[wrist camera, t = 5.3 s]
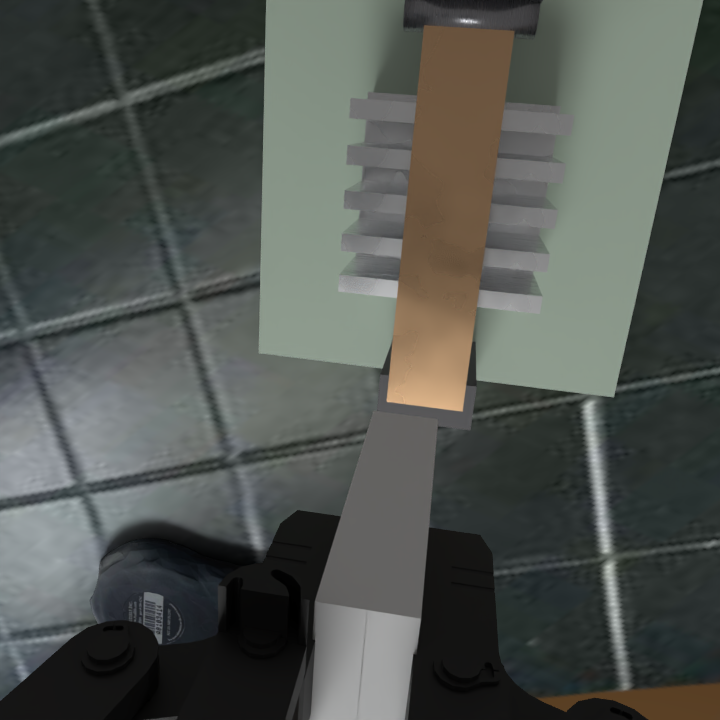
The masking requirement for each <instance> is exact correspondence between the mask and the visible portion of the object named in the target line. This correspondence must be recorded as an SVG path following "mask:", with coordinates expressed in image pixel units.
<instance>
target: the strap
mask: <svg viewBox="0 0 720 720" xmlns="http://www.w3.org/2000/svg"><path fill="white" fill-rule="evenodd" d="M540 3H541V0H405V5H404V18H403V29H404V31H405V32H421V33H423V41H422V51H421V61H420V71H419V81H418V91H417V101H416V111H415V121H414V131H413V141H412V151H411V161H410V171H409V181H408V191H407V201H406V211H405V221H404V231H403V242H402V252H401V262H400V272H399V282H398V292H397V302H396V312H395V322H394V332H393V342H392V352H391V362H390V372H389V382H388V392H387V402H393V403H400V404H408V405H416V406H423V407H431V408H439V409H446V410H454V411H462V412H463V404H464V397H465V390H466V382H467V375H468V368H469V360H470V353H471V346H472V339H473V331H474V324H475V317H476V309H477V302H478V295H479V287H480V280H481V273H482V266H483V258H484V251H485V244H486V236H487V229H488V222H489V214H490V207H491V200H492V192H493V185H494V178H495V171H496V163H497V156H498V149H499V141H500V134H501V127H502V119H503V112H504V105H505V98H506V90H507V83H508V76H509V68H510V61H511V54H512V46H513V39H514V38H516V39H532V40H534V39H535V35H536V31H537V25H538V19H539V12H540Z"/></svg>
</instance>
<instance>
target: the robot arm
mask: <svg viewBox="0 0 720 720" xmlns="http://www.w3.org/2000/svg"><path fill="white" fill-rule="evenodd" d="M437 426H438V419H433V418H425V417H417V416H410V415H402V414H394V413H386V412H378V411H373V414H372V418H371V421H370V424H369V427H368V430H367V434H366V437H365V440H364V443H363V447H362V450H361V453H360V456H359V460H358V463H357V466H356V469H355V473H354V476H353V479H352V482H351V486H350V489H349V492H348V495H347V499H346V502H345V505H344V508H343V512H342V515H341V516H334V515H327V514H321V513H314V512H307V511H300V510H297V511H296V512H295V513H293V514H292V515H291V516H290V517H288V518H287V519H286V520H284V521H283V522H282V523H281V524H280V526H279V528H278V530H277V532H276V535H275V537H274V539H273V542H272V544H271V546H270V548H269V550H268V552H267V555H266V559H264V561H263V563H256V564H251V565H247V566H242V567H240V568H238V569H236V570H235V571H233V572H231V573H229V574H227V575H226V577H225V578H224V579H223V580H222V581H221V582H220V584H219V585H218V633H217V634H216V635H215V636H212V637H209V638H206V639H204V640H200V641H195V642H189V643H180V644H169V645H159V644H158V641H157V639H156V637H155V635H154V633H153V631H152V630H150V629H149V628H147V627H146V626H144V625H143V624H141V623H137V622H133V621H128V620H116V621H105V622H103V623H100V624H97V625H94V626H91V627H88V628H86V629H85V630H83V631H82V632H80V633H79V634H77V635H76V636H74V637H73V638H71V639H70V640H69V641H68V642H67V643H65V644H64V645H63V646H62V647H61V648H60V649H59V650H58V651H56V652H55V653H54V654H53V655H52V656H51V657H50V658H49V659H47V660H46V661H45V662H44V663H43V664H42V665H41V666H40V667H38V668H37V669H36V670H35V671H34V672H33V673H32V674H30V675H29V676H28V677H27V678H26V679H25V680H24V681H23V682H21V683H20V684H19V685H18V686H17V687H16V688H15V689H14V690H12V691H11V692H10V693H9V694H8V695H7V696H6V697H5V698H3V699H2V700H1V701H0V720H648V719H646V718H645V717H644V716H642V715H641V714H640V713H638V712H637V711H636V710H634V709H632V708H630V707H628V706H625V705H623V704H621V703H618V702H616V701H613V700H606V699H599V698H592V699H588V700H582V701H578V702H577V703H576V704H575V705H573V706H572V707H571V708H570V709H569V710H567V712H564V711H562V710H560V709H558V708H555V707H553V706H551V705H548V704H546V703H544V702H542V701H540V700H538V699H536V698H535V697H533V696H531V695H529V694H528V693H526V692H525V691H524V690H523V689H521V688H520V687H519V686H518V685H516V684H515V683H514V681H513V680H512V679H511V678H510V677H509V676H508V674H507V673H506V671H505V669H504V666H503V664H502V663H501V660H500V656H499V650H498V634H497V619H496V603H495V593H494V589H495V588H494V576H493V557H492V552H491V551H490V549H489V548H488V546H487V545H486V543H485V542H484V540H483V539H482V537H481V536H480V535H477V534H470V533H463V532H456V531H449V530H442V529H436V528H429V519H430V508H431V496H432V484H433V473H434V461H435V449H436V438H437Z"/></svg>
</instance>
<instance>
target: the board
mask: <svg viewBox="0 0 720 720" xmlns="http://www.w3.org/2000/svg"><path fill="white" fill-rule="evenodd" d="M702 3H703V0H541V3H540V12H539V19H538V25H537V31H536V35H535V39H534V40H532V39H516V38H514V39H513V46H512V54H511V61H510V68H509V76H508V83H507V90H506V98H505V102H510V103H523V104H537V105H550V106H561V109H560V114H568V115H574V121H573V126H572V132H571V136H566V135H556V139H555V145H554V151H553V158H555V159H557V160H559V161H561V162H564V163H566V166H565V172H564V178H563V184H561V183H550V182H548V187H547V193H546V198H547V199H548V200H549V201H550V202H551V203H552V204H553V205H554V206H555V208H556V209H557V210H558V212H557V218H556V224H555V229H548V228H541V229H540V234H539V236H540V238H541V239H542V241H543V243H544V245H545V246H546V248H547V250H548V251H549V253H550V258H549V264H548V270H547V272H537V271H533V274H534V276H535V279H536V281H537V284H538V286H539V288H540V291H541V293H542V296H543V298H542V304H541V310H540V314H535V313H526V312H517V311H508V310H499V309H490V308H481V307H477V309H476V317H475V324H474V331H473V339H472V346H471V353H470V360H469V368H468V375H467V382H466V390H465V397H464V404H463V412H462V411H454V410H446V409H439V408H431V407H423V406H416V405H408V404H400V403H393V402H387V392H388V382H389V372H390V362H391V352H392V342H393V332H394V322H395V312H396V302H397V298H392V297H383V296H374V295H365V294H356V293H347V292H338V287H339V274H340V273H341V272H342V271H343V270H344V268H345V267H346V266H347V265H348V264H349V262H350V261H351V260H352V259H353V258H354V256H355V255H356V253H355V252H345V251H341V240H342V233H343V232H344V231H345V230H346V229H347V228H348V227H350V226H351V225H352V224H353V223H354V222H355V221H356V220H357V219H358V218H359V210H351V209H343V208H344V192H345V190H346V189H348V188H349V187H351V186H353V185H355V184H356V183H358V182H360V181H362V169H363V166H357V165H346V161H347V145H350V144H355V143H359V142H364V141H365V127H366V120H365V119H353V118H349V113H350V98H358V99H368V92H376V93H389V94H403V95H416V96H417V91H418V81H419V71H420V61H421V51H422V41H423V33H421V32H405V31H404V29H403V18H404V5H405V0H266V38H265V85H264V132H263V180H262V227H261V274H260V322H259V353H262V354H270V355H278V356H286V357H294V358H302V359H310V360H318V361H326V362H334V363H343V364H351V365H359V366H367V367H375V368H382V371H381V374H380V383H379V394H378V405H377V411H378V412H386V413H394V414H402V415H410V416H417V417H425V418H433V419H438V426H442V427H449V428H457V429H464V430H470V428H471V422H472V415H473V408H474V401H475V394H476V387H477V382H476V380H479V381H487V382H495V383H503V384H511V385H519V386H527V387H535V388H544V389H552V390H560V391H568V392H576V393H584V394H592V395H600V396H608V397H614V394H615V389H616V385H617V380H618V376H619V371H620V367H621V363H622V358H623V354H624V349H625V345H626V340H627V336H628V331H629V327H630V323H631V318H632V314H633V309H634V305H635V300H636V296H637V291H638V287H639V283H640V278H641V274H642V269H643V265H644V260H645V256H646V251H647V247H648V243H649V238H650V234H651V229H652V225H653V220H654V216H655V211H656V207H657V203H658V198H659V194H660V189H661V185H662V180H663V176H664V171H665V167H666V163H667V158H668V154H669V149H670V145H671V140H672V136H673V131H674V127H675V123H676V118H677V114H678V109H679V105H680V100H681V96H682V91H683V87H684V83H685V78H686V74H687V69H688V65H689V60H690V56H691V51H692V47H693V43H694V38H695V34H696V29H697V25H698V20H699V16H700V11H701V7H702Z"/></svg>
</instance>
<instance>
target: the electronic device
mask: <svg viewBox="0 0 720 720" xmlns="http://www.w3.org/2000/svg"><path fill="white" fill-rule="evenodd" d="M240 567H242V566H240V565H235V564H233V563H229V562H225V561H221V560H214V559H212V558H209V557H206V556H201V555H199V554H198V553H196V552H195V551H193V550H191V549H188V548H186V547H184V546H182V545H176V544H173V543H171V542H169V541H167V540H163V539H153V538H148V539H139V540H134V541H131V542H128V543H125V544H123V545H121V546H119V547H118V548H116V549H114V550H113V551H111V552H110V553H109V554H107V555H106V557H105V558H104V559H103V560H102V561H101V562H100V566H99V577H98V582H97V585H96V588H95V591H94V594H93V596H92V597H91V599H90V604H91V608H92V611H93V615H94V616H95V618H96V620H97V622H98V624H100V623H103V622H105V621H116V620H128V621H133V622H137V623H141V624H143V625H144V626H146V627H147V628H149V629H150V630H152V631H153V633H154V635H155V637H156V639H157V641H158V644H159V645H169V644H180V643H189V642H195V641H200V640H204V639H206V638H209V637H212V636H215V635H216V634H217V633H218V585H219V584H220V582H221V581H222V580H223V579H224V578H225V577H226V575H227V574H229V573H231V572H233V571H235V570H236V569H238V568H240Z"/></svg>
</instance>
